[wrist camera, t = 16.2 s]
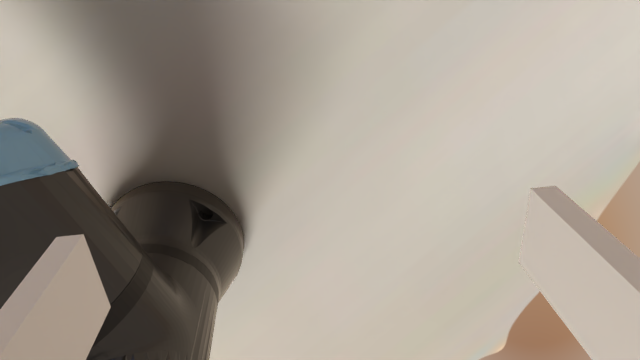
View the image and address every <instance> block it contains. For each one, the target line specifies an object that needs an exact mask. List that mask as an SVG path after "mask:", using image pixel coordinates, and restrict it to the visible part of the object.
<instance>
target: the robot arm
mask: <svg viewBox="0 0 640 360" xmlns="http://www.w3.org/2000/svg"><path fill="white" fill-rule="evenodd" d="M78 166H79V165H78V164H77V162H76V161H75V160H71V159H70V158H69V157H68V156H67V155H66V154H65V153H64V152H63V151H62V150H61V149H60V148H59V147H58V145H57V144H56V143H55V142H54V141H53V140H52V139H51V138H50V137H49V136H48V135H47V133H46V132H45V131H44V130H43V129H42V128H41V127H39V126H38V125H37V124H35V123H33V122H31V121H28V120H25V119H20V118H9V119H3V120H0V360H209V356H210V350H211V343H212V337H213V331H214V324H215V318H216V312H217V306H218V302H219V301H220V299H221V298H222V297H223V295H224V294H225V292H226V291H227V289H228V288H229V286H230V285H231V284H232V282H233V281H234V279H235V278H236V276H237V274H238V272H239V269H240V266H241V262H242V256H243V248H244V239H243V233H242V229H241V226H240V224H239V222H238V220H237V218H236V217H235V215H234V214H233V212H232V211H231V210H230V209H229V207H228V206H227V205H226V204H225V203H223V202H222V201H221V200H220V199H219V198H217V197H216V196H214V195H213V194H211V193H209V192H207V191H205V190H203V189H201V188H198V187H195V186H192V185H188V184H184V183H177V182H158V183H152V184H147V185H143V186H141V187H138V188H136V189H133V190H132V191H130V192H128V193H126V194H125V195H124V196H122V197H121V198H120V199H119V200H118V201H117V202H116V203H115V204H114V205H113V207H112V208H111V209H110V207H109V206H108V205H107V204H106V203H105V201H104V200H103V199H102V198H101V196H100V195H99V194H98V193H97V191H96V190H95V189H94V188H93V186H92V185H91V184H90V183H89V181H88V180H87V179H86V178H85V176H84V175H83V174H82V172H81V171H80V170H79V169H78ZM518 263H519V264H520V265H521V267H522V268H523V269H524V271H525V272H526V273H527V275H528V276H529V277H530V279H531V280H532V281H533V283H534V284H535V285H536V286H537V288H538V289H539V290H540V292H541V293H542V294H543V296H544V297H545V298H546V300H547V301H548V302H549V303H550V305H551V306H552V308H553V309H554V310H555V311H556V313H557V314H558V315H559V317H560V318H561V319H562V321H563V322H564V323H565V325H566V326H567V327H568V329H569V330H570V331H571V333H572V334H573V335H574V336H575V338H576V339H577V340H578V342H579V343H580V344H581V346H582V347H583V348H584V350H585V351H586V352H587V354H588V355H589V356H590V358H591V359H592V360H640V258H639V257H638V256H636V255H635V254H634V253H633V252H632V251H631V250H630V249H628V248H627V247H626V246H625V245H624V244H622V243H621V242H620V241H619V240H618V239H617V238H616V237H614V236H613V235H612V234H611V233H610V232H609V231H607V230H606V229H605V228H604V227H603V226H602V225H601V224H599V223H598V222H597V221H596V220H595V219H594V218H592V217H591V216H590V215H589V214H588V213H587V212H585V211H584V210H583V209H582V208H581V207H580V206H578V205H577V204H576V203H575V202H574V201H573V200H571V199H570V198H569V197H568V196H567V195H566V194H564V193H563V192H562V191H561V190H560V189H559V188H557V187H556V186H550V187H540V188H531V189H530V195H529V201H528V207H527V213H526V219H525V225H524V232H523V238H522V244H521V250H520V256H519V262H518Z"/></svg>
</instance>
